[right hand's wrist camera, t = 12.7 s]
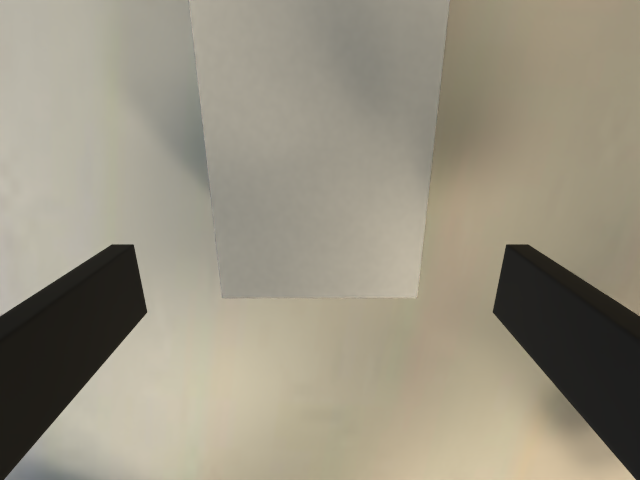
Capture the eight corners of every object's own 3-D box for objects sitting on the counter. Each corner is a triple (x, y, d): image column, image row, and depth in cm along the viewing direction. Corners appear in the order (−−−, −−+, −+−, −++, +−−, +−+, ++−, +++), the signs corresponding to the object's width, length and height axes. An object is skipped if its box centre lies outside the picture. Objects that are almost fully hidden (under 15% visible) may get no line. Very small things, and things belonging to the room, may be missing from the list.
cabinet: (232, -19, 21) (176, -100, 13) (406, -19, 21) (461, -100, 13) (251, 242, 27) (221, 298, 19) (388, 241, 27) (417, 298, 19)
